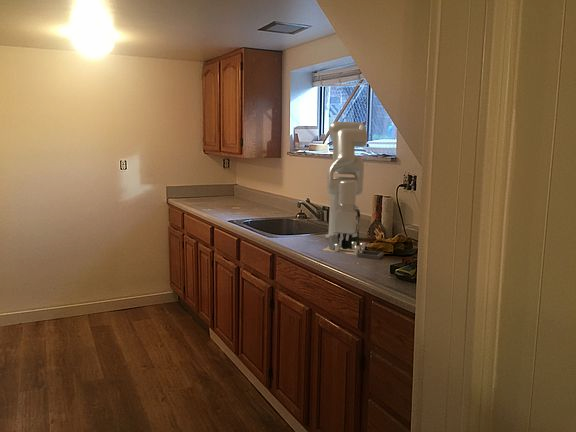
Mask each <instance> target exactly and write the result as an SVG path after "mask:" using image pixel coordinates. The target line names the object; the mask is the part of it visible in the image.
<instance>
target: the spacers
mask: <svg viewBox="0 0 576 432" xmlns="http://www.w3.org/2000/svg"><path fill="white" fill-rule="evenodd" d="M351 249H352V250H355V252H354V254H353V255H356V254H358V253H360V251H363V250H366V242H364V241H362V242H359V246H357V242H354V241H353V242H352V248H351ZM337 252H340V244H335V252H334V253H337Z"/></svg>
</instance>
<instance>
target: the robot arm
mask: <svg viewBox="0 0 576 432" xmlns="http://www.w3.org/2000/svg"><path fill="white" fill-rule="evenodd" d="M328 129H329V137H330V140H331V143H332V163H331V164H330V166H329V168H328V170H327V175H326V191H327V193H328V194H329V214H328V215H329V216H328V233H326V234H325V238H327V239H328V236H331V235H337V236H339V237H340V239H341V240H342V242H341V248H342V249H347V248H348V247H349V240H350V239H351V238H352V237H356V236H357V232H358V229H359V225H358V216H357V212H356V211H355V210H356V209H359V206H357V204H356V202H357V201H356V198H357V197H358V196H361V195H362V193H363V189H364V176H365V175H364V173H365V172H364V171H365V164H364V159H363V157H361V156H359V155H355V147H357V148H358V147H359V148H363V147H365V146H366V145H367V144H368V133H367V129H366V126H365V124H364V123H363V122H358V121H356V122H355V121H334V122H332V123H330V125H329V128H328ZM334 174H337V175H353V176H352V177H350V176H334ZM345 234H347V235H346V239H345Z"/></svg>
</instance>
